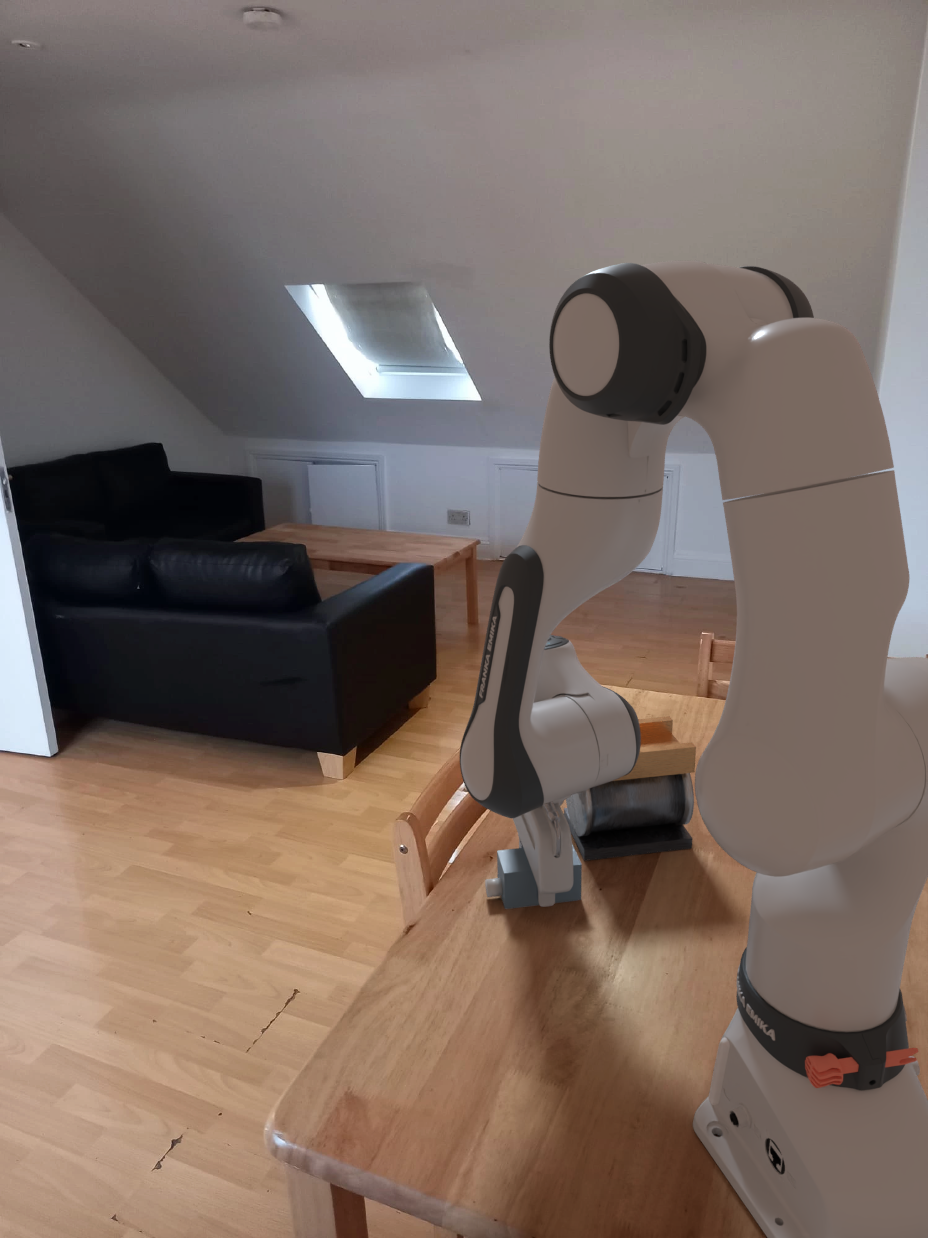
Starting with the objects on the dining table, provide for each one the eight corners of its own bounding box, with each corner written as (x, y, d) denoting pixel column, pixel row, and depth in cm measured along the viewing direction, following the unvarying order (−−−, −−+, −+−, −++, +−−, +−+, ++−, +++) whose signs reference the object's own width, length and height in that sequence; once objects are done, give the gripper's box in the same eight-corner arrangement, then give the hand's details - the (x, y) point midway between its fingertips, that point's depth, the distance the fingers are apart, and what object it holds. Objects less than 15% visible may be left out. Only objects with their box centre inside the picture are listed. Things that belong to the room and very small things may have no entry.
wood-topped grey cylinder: (691, 848, 108) (698, 749, 103) (584, 860, 106) (585, 760, 101) (663, 807, 117) (667, 714, 112) (563, 817, 115) (564, 724, 111)
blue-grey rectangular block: (581, 901, 99) (581, 864, 97) (490, 912, 97) (489, 875, 96) (571, 877, 103) (571, 842, 101) (483, 888, 102) (482, 852, 100)
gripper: (589, 820, 86) (587, 932, 90) (542, 730, 105) (542, 826, 110) (528, 826, 85) (528, 940, 90) (492, 734, 104) (494, 832, 109)
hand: (536, 877), depth 100 cm, fingers open, 8 cm apart
